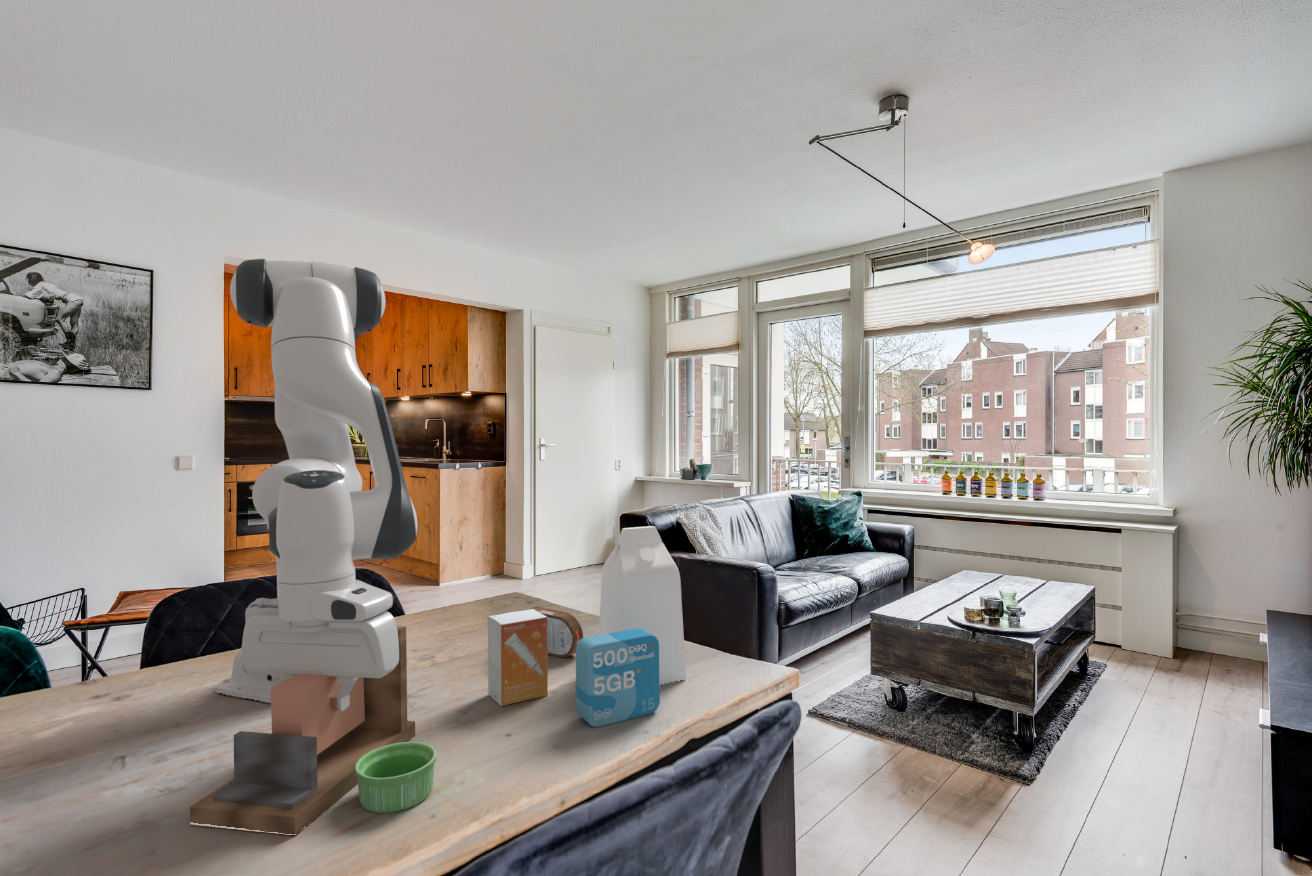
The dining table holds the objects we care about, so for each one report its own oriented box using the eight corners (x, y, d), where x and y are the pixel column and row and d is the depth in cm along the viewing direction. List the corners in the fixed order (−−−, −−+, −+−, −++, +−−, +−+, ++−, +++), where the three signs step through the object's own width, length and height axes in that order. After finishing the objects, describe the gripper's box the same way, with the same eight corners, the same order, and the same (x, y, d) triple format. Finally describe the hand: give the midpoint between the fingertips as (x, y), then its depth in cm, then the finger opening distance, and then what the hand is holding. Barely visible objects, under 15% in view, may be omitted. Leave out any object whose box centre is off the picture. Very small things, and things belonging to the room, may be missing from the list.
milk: (657, 659, 125) (655, 521, 125) (686, 680, 114) (684, 529, 114) (597, 670, 120) (595, 526, 120) (621, 692, 109) (620, 534, 109)
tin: (584, 657, 127) (584, 613, 127) (574, 662, 124) (573, 617, 124) (526, 645, 135) (525, 603, 135) (515, 649, 132) (514, 607, 132)
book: (272, 762, 79) (270, 687, 79) (338, 719, 91) (336, 653, 91) (303, 765, 78) (300, 688, 78) (364, 720, 90) (362, 654, 90)
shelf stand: (189, 825, 73) (187, 679, 73) (332, 729, 96) (331, 619, 96) (295, 836, 71) (293, 686, 70) (415, 735, 94) (413, 622, 94)
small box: (501, 707, 104) (500, 624, 103) (487, 694, 109) (486, 615, 109) (549, 696, 108) (548, 616, 108) (533, 684, 113) (532, 607, 113)
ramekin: (446, 775, 83) (445, 740, 83) (422, 816, 74) (422, 777, 74) (373, 777, 83) (373, 742, 83) (341, 818, 74) (341, 779, 74)
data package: (588, 730, 95) (587, 646, 95) (575, 718, 99) (574, 638, 99) (660, 712, 101) (659, 633, 101) (646, 702, 105) (645, 626, 105)
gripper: (226, 604, 83) (229, 714, 83) (375, 607, 79) (378, 722, 79) (264, 591, 89) (267, 694, 89) (404, 594, 86) (407, 701, 86)
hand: (321, 708), depth 84 cm, fingers closed on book, 4 cm apart
